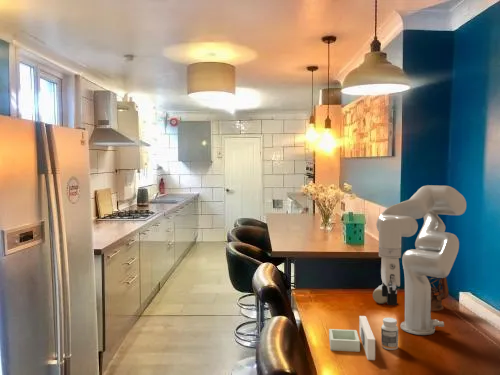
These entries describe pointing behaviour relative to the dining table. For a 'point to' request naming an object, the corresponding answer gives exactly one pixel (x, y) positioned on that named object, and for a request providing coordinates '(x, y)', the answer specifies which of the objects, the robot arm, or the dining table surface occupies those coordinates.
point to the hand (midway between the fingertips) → (389, 300)
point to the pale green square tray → (344, 340)
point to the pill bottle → (389, 334)
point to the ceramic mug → (379, 295)
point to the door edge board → (367, 337)
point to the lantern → (437, 299)
